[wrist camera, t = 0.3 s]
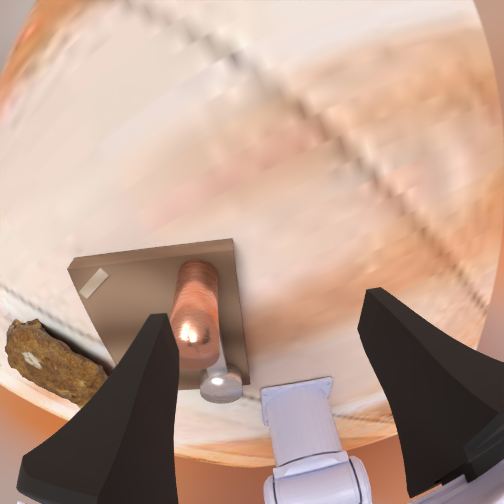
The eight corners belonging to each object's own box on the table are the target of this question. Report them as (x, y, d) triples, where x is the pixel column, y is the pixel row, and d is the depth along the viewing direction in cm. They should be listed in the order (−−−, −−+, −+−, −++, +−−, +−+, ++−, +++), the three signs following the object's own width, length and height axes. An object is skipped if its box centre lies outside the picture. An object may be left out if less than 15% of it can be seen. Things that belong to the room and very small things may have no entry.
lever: (242, 383, 26) (249, 444, 20) (204, 387, 26) (206, 448, 20) (222, 256, 18) (226, 332, 13) (166, 262, 18) (149, 338, 13)
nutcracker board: (248, 372, 28) (250, 385, 26) (134, 379, 27) (132, 391, 26) (232, 238, 20) (233, 250, 18) (74, 257, 19) (66, 269, 18)
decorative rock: (149, 362, 27) (20, 290, 21) (143, 394, 23) (0, 316, 18) (116, 407, 30) (13, 352, 25) (111, 434, 27) (0, 376, 21)
